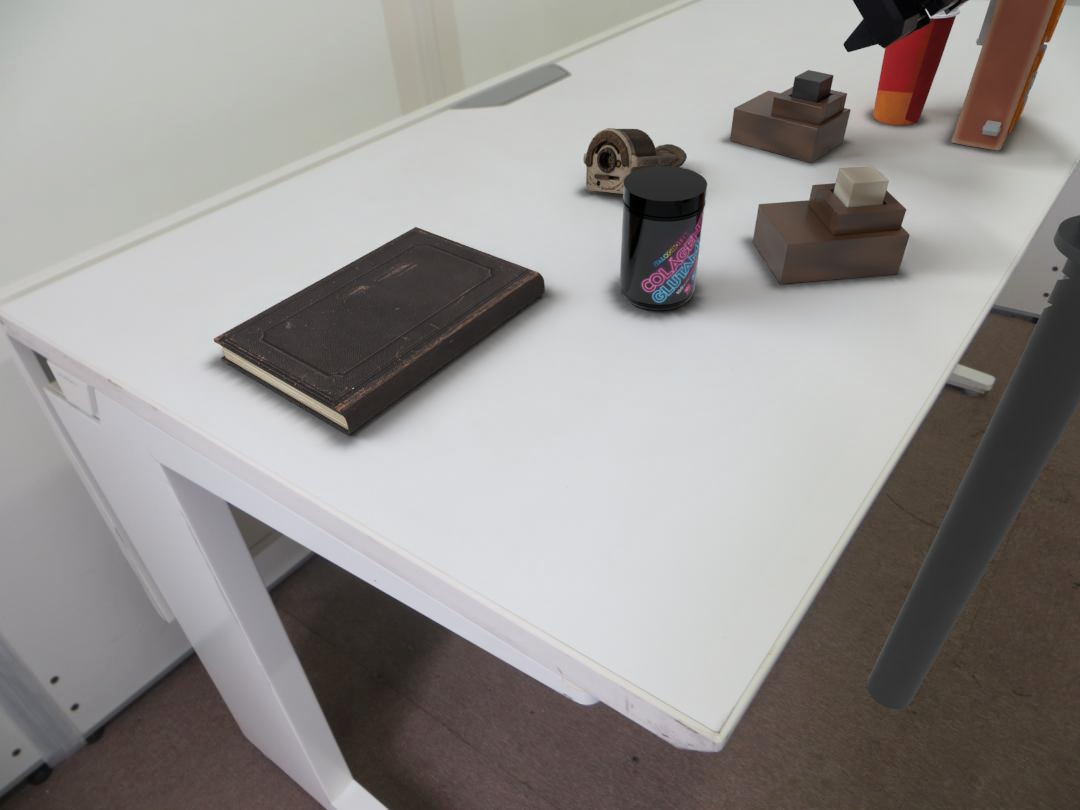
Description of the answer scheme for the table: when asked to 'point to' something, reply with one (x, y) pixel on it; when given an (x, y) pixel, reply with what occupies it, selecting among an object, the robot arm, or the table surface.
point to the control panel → (1005, 69)
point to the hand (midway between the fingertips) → (846, 47)
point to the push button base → (791, 124)
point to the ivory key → (860, 186)
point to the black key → (812, 86)
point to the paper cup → (911, 71)
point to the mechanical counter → (624, 157)
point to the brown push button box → (830, 237)
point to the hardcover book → (378, 325)
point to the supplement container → (661, 236)
